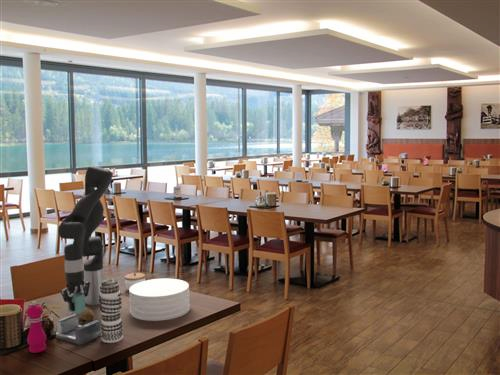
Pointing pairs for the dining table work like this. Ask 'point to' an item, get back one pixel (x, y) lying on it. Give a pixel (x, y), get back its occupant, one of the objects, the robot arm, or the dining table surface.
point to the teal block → (78, 303)
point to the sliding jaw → (67, 323)
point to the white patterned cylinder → (110, 311)
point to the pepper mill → (36, 329)
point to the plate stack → (159, 299)
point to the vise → (82, 333)
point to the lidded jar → (134, 279)
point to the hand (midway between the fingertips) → (77, 308)
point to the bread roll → (85, 316)
